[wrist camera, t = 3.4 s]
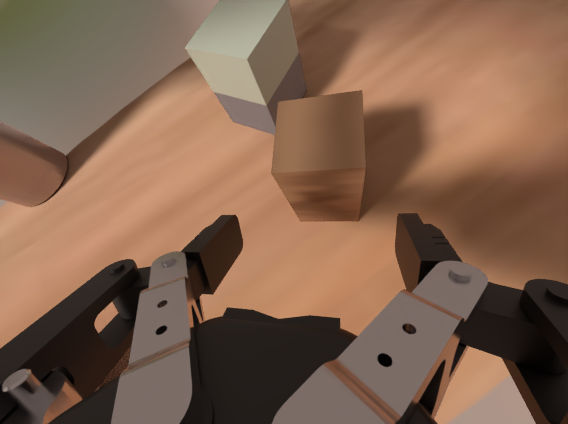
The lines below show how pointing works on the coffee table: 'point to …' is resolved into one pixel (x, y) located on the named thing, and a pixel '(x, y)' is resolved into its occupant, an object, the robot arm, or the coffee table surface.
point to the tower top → (245, 48)
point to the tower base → (267, 115)
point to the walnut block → (321, 155)
